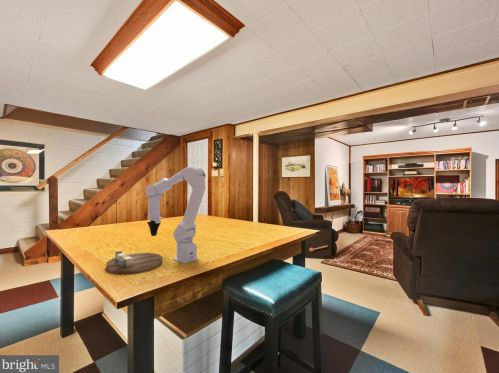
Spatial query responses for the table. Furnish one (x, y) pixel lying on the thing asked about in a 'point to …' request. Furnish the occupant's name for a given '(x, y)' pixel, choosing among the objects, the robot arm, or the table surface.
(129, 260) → the folding leg
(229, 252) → the table surface
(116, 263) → the stool seat
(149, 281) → the table surface
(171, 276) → the table surface
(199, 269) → the table surface
